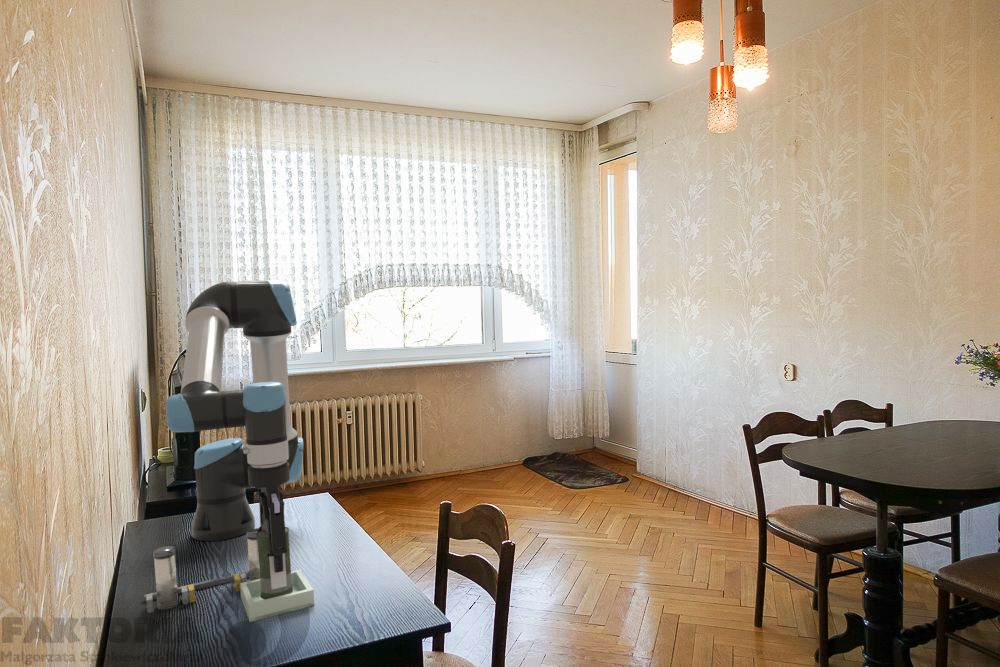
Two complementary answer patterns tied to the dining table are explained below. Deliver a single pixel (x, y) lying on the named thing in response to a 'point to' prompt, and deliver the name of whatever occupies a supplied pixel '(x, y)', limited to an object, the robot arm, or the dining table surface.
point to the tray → (276, 598)
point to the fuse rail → (170, 591)
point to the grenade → (265, 564)
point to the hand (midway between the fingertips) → (275, 580)
